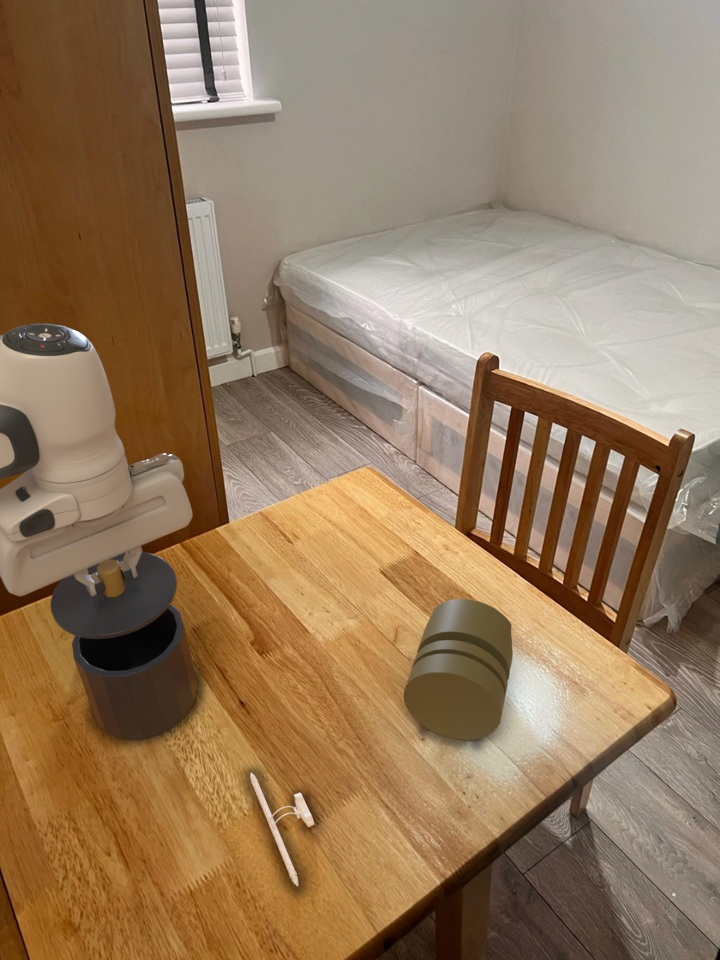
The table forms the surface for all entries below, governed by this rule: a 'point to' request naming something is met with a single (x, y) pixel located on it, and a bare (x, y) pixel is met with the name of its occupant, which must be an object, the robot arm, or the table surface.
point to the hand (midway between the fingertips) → (112, 584)
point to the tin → (139, 678)
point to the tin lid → (115, 599)
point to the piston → (461, 670)
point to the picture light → (301, 810)
